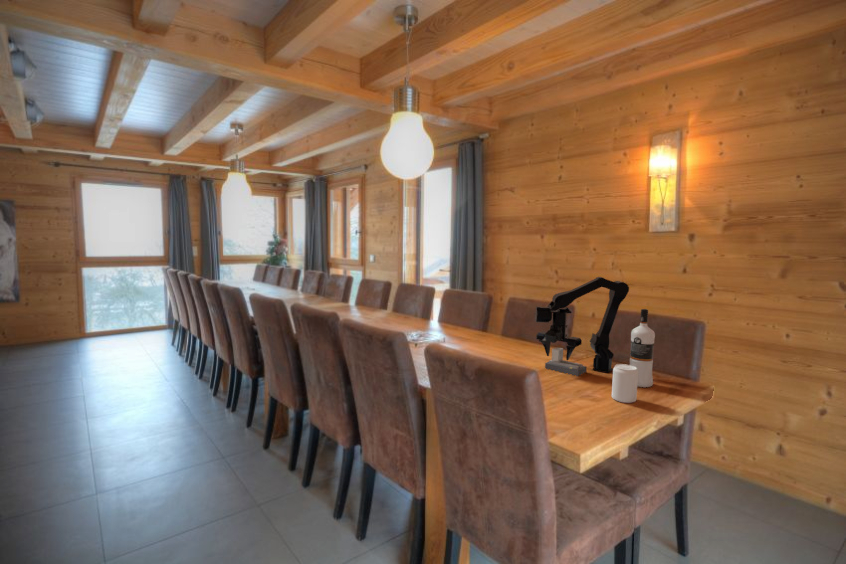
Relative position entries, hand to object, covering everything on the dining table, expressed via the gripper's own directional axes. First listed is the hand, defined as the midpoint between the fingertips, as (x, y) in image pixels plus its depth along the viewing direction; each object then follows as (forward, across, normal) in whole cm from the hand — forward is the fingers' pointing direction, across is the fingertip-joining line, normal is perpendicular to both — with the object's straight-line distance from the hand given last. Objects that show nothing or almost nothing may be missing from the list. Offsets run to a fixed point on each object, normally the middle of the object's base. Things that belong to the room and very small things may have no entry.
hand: (557, 358), depth 196 cm
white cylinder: (+5, +35, -18) cm, 39 cm away
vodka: (+5, +33, +4) cm, 34 cm away
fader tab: (+2, 0, 0) cm, 2 cm away
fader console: (+5, +4, 0) cm, 6 cm away
